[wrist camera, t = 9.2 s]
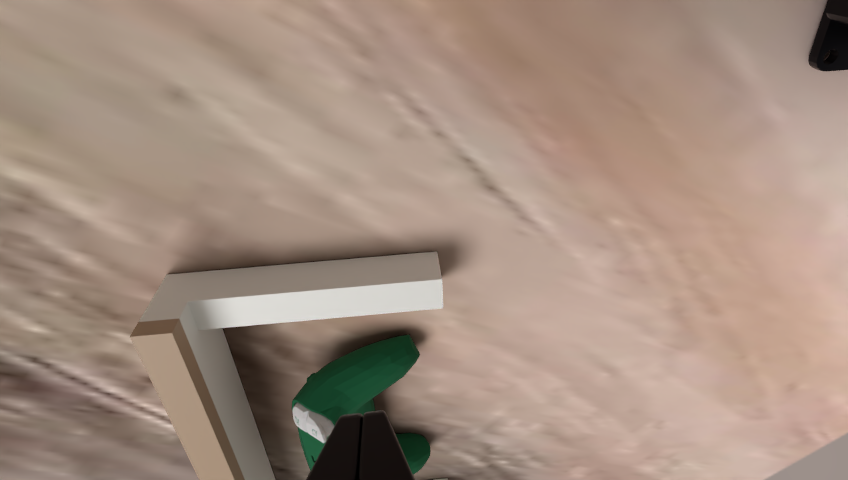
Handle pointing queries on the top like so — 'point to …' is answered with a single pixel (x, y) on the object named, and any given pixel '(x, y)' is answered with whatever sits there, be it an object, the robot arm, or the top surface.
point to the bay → (255, 305)
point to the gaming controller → (355, 395)
